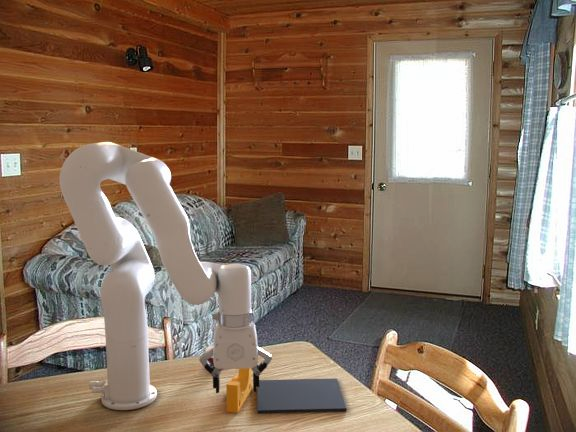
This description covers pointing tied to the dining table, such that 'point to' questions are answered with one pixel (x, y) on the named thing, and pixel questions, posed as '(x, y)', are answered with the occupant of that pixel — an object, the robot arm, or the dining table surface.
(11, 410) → the dining table surface
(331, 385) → the mat
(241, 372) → the pipe clamp
